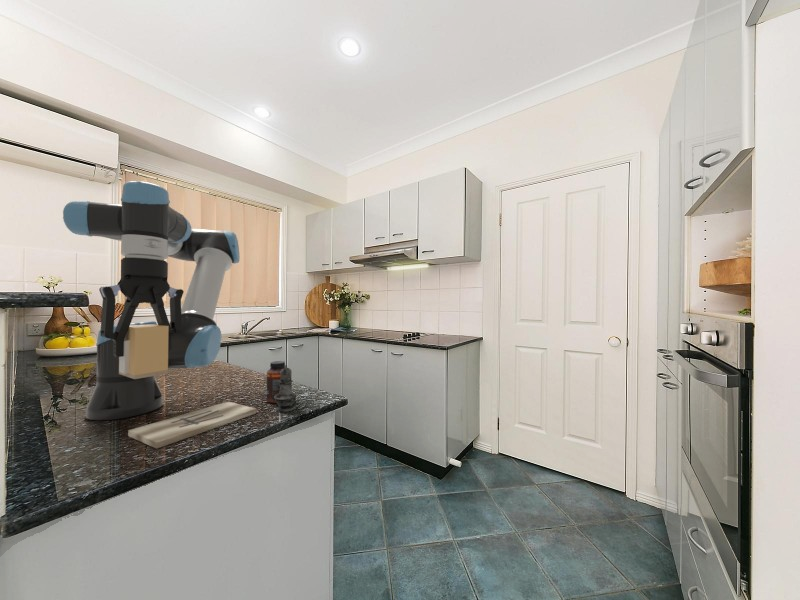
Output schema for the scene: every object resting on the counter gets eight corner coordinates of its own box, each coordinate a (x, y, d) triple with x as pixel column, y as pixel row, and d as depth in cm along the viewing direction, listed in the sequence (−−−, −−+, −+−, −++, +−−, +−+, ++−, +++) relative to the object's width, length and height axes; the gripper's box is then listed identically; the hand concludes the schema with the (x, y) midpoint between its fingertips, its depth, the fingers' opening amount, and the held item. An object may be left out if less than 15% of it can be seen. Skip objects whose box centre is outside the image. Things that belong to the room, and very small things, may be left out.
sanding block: (118, 373, 63) (119, 325, 63) (151, 369, 67) (151, 324, 67) (134, 379, 59) (135, 327, 59) (167, 373, 63) (168, 325, 63)
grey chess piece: (300, 405, 85) (301, 362, 85) (291, 413, 79) (291, 367, 79) (280, 405, 85) (281, 362, 85) (269, 412, 79) (270, 366, 80)
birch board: (128, 435, 65) (128, 430, 65) (227, 405, 84) (227, 401, 84) (156, 448, 59) (156, 442, 59) (256, 413, 79) (256, 408, 79)
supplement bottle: (291, 400, 89) (292, 362, 90) (271, 405, 85) (272, 364, 85) (282, 396, 93) (282, 359, 94) (262, 400, 89) (263, 362, 89)
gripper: (89, 250, 53) (87, 382, 53) (202, 262, 69) (200, 364, 69) (76, 253, 57) (74, 376, 57) (186, 264, 73) (184, 360, 73)
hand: (143, 369), depth 63 cm, fingers closed on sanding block, 5 cm apart
